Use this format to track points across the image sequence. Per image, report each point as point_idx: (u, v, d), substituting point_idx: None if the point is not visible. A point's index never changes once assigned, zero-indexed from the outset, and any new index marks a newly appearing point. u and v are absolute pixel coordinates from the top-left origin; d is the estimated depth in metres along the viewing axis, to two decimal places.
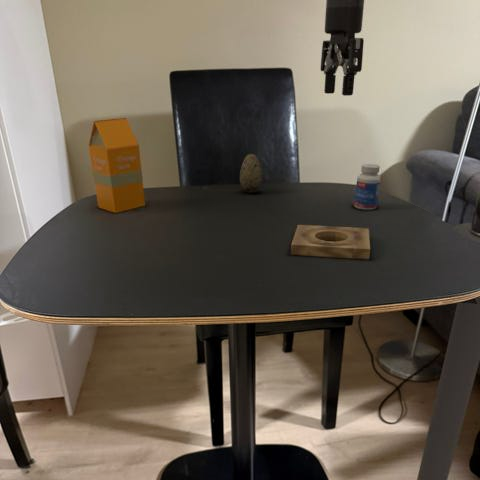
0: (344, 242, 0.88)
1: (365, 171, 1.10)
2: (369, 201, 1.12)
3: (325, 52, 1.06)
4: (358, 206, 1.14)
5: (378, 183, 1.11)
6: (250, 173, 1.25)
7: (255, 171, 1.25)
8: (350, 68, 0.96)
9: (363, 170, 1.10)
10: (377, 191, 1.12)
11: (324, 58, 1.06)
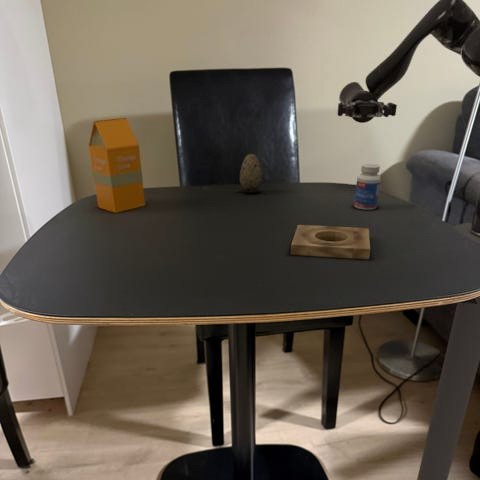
0: (344, 242, 0.88)
1: (365, 171, 1.10)
2: (369, 201, 1.12)
3: (343, 105, 1.23)
4: (358, 206, 1.14)
5: (378, 183, 1.11)
6: (250, 173, 1.25)
7: (255, 171, 1.25)
8: (395, 104, 1.19)
9: (363, 170, 1.10)
10: (377, 191, 1.12)
11: (343, 105, 1.22)
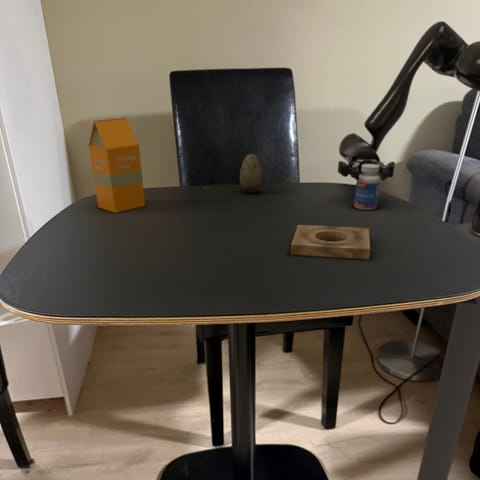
0: (344, 242, 0.88)
1: (365, 171, 1.10)
2: (369, 201, 1.12)
3: None
4: (358, 206, 1.14)
5: (378, 183, 1.11)
6: (250, 173, 1.25)
7: (255, 171, 1.25)
8: (393, 166, 1.13)
9: (363, 170, 1.10)
10: (377, 191, 1.12)
11: None
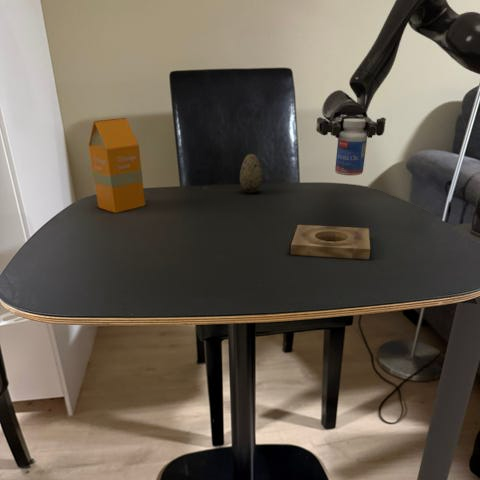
0: (344, 242, 0.88)
1: (347, 126, 0.89)
2: (353, 164, 0.91)
3: None
4: (340, 171, 0.93)
5: (364, 142, 0.90)
6: (250, 173, 1.25)
7: (255, 171, 1.25)
8: (382, 121, 0.92)
9: (345, 125, 0.89)
10: (363, 152, 0.91)
11: None
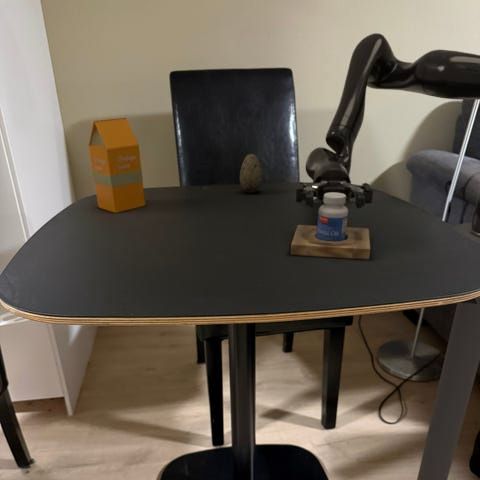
0: (344, 242, 0.88)
1: (327, 202, 0.87)
2: (334, 239, 0.89)
3: (303, 186, 0.93)
4: None
5: (344, 217, 0.87)
6: (250, 173, 1.25)
7: (255, 171, 1.25)
8: (372, 189, 0.89)
9: (325, 201, 0.87)
10: (343, 227, 0.88)
11: (303, 187, 0.92)
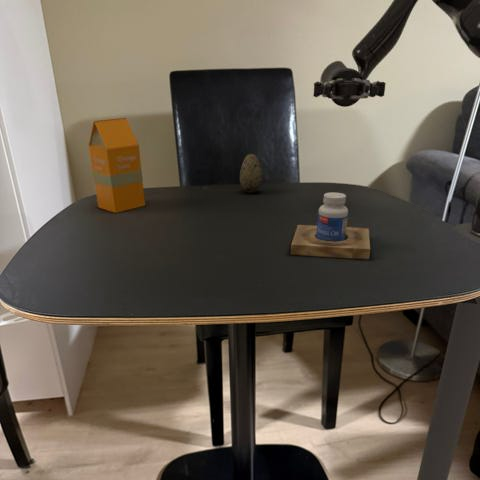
0: (344, 242, 0.88)
1: (327, 202, 0.87)
2: (334, 239, 0.89)
3: (320, 84, 1.00)
4: None
5: (344, 217, 0.87)
6: (250, 173, 1.25)
7: (255, 171, 1.25)
8: None
9: (325, 201, 0.87)
10: (343, 227, 0.88)
11: None
